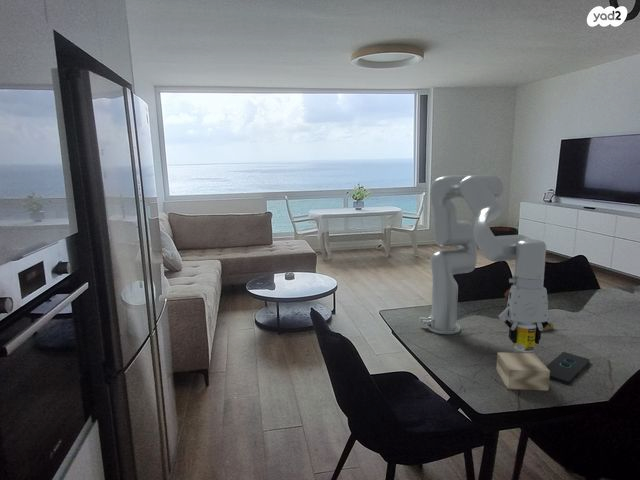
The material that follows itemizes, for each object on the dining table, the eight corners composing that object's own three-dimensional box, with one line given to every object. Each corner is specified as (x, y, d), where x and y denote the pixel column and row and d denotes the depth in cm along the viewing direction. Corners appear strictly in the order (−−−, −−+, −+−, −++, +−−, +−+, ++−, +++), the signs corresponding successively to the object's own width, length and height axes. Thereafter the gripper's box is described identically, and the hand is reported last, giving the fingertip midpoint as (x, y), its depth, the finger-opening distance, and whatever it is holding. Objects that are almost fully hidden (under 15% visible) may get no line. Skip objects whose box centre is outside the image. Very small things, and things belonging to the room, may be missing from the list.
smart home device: (591, 359, 131) (569, 381, 118) (590, 364, 132) (568, 386, 119) (562, 350, 138) (539, 371, 125) (562, 355, 138) (538, 376, 125)
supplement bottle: (527, 355, 116) (530, 321, 115) (509, 348, 121) (511, 315, 119) (538, 349, 119) (540, 316, 118) (520, 343, 124) (522, 311, 122)
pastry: (537, 334, 155) (538, 324, 154) (522, 327, 161) (523, 318, 160) (554, 329, 159) (555, 320, 158) (539, 323, 165) (539, 314, 164)
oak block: (508, 388, 117) (509, 369, 116) (496, 370, 128) (497, 352, 127) (548, 390, 116) (550, 371, 115) (533, 371, 127) (534, 353, 126)
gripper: (501, 285, 114) (497, 346, 117) (566, 286, 112) (561, 348, 115) (493, 278, 121) (490, 335, 125) (554, 279, 119) (549, 337, 123)
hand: (524, 341), depth 120 cm, fingers closed on supplement bottle, 5 cm apart
